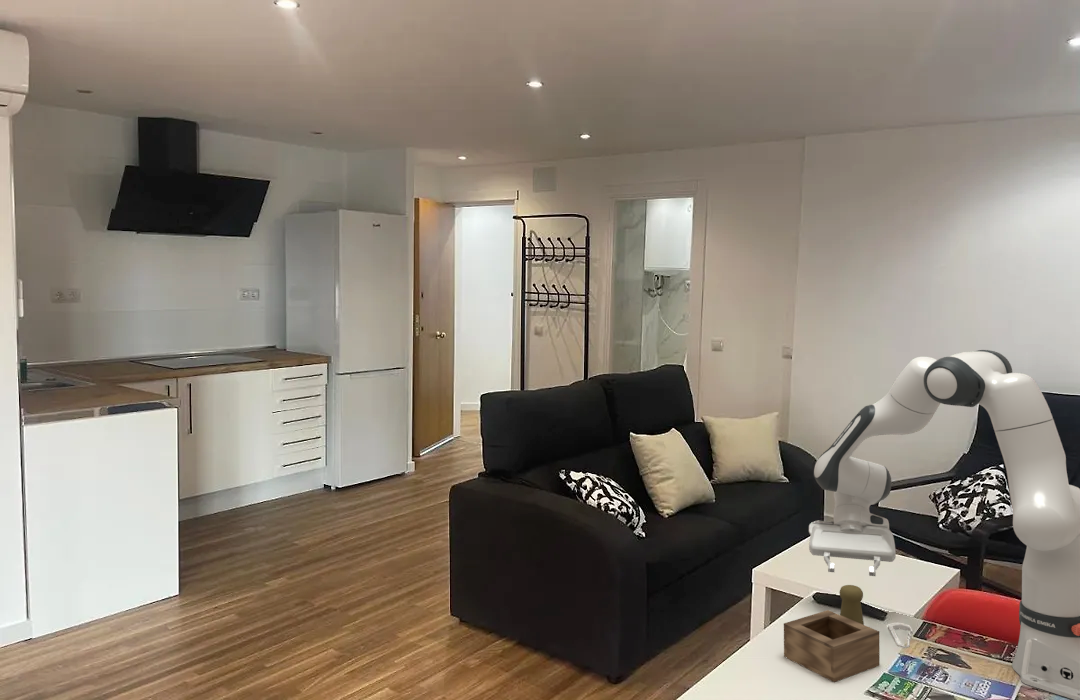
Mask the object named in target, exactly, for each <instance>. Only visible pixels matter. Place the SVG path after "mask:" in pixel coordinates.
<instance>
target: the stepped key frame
mask: <svg viewBox="0 0 1080 700" xmlns="http://www.w3.org/2000/svg"><path fill="white" fill-rule="evenodd" d="M887 624H888V627H887V630H888V632H889V633H890V634H889V635H891V637H892V639H893V641H894V643H895V644H896V646H897V647H899V648H902V649H907V648H910V645H911V644H910V642H911V639H912V636H913V635H914V630H913V629H912V627H911V625H910V624H906V623H902V622H898V621H896V622H892V623H887ZM899 628H900V630H903V629H904V631H907V630H908V632H907V636H906V645H903V644H902V643H901V640H900V639H899V637H898V635H897V633H896V631H895V630H899ZM894 629H895V630H894ZM909 631H910V632H909ZM912 634H913V635H912ZM910 638H911V639H910Z"/></svg>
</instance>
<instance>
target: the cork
mask: <svg viewBox="0 0 1080 700" xmlns="http://www.w3.org/2000/svg"><path fill="white" fill-rule="evenodd" d="M863 592H864V591H863V590H862V588H861V587H860V586H857V585H853V584H846V585H842V586H841V587H840V589H839V596H840V599H841V606H840V613H839V615H841V616H843V617H846V618H848V619H851V620H853V621H855V622H858V623H860V624H863V625H865V623H864V616H863V609H862V604H861V603H862V600H863V598H864V593H863Z"/></svg>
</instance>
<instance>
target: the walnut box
mask: <svg viewBox="0 0 1080 700" xmlns="http://www.w3.org/2000/svg"><path fill="white" fill-rule="evenodd" d="M783 657H784V658H786V657H787V658H786V659H788V660H789V661H792V662H794V663H796V664H798V665H800V666H802V667H803V668H805V669H808V670H809V671H811V672H813V673H815V674H818V675H819V676H821V677H823V678H825V679H827V680H829V681H831V682H832V683H835V682H839V681H841V680H844V679H847V678H849V677H852V676H855V675H857V674H860V673H863V672H865V671H866V672H867V671H868V670H872V669H874V668H877V667H879V666H880V663H881V661H880V631H879V630H878V629H874V628H872V627H870V626H867V625H865V624H864V625H863V624H860V623H858V622H855V621H853V620H851V619H848V618H846V617H843V616H841V615H840V613H839V614H838V613H836V612H834V611H831V610H829V609H827V610H824V611H821V612H817V613H814V614H810V615H807V616H804V617H801V618H797V619H794V620H791V621H787V622H784V623H783Z"/></svg>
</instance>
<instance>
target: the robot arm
mask: <svg viewBox="0 0 1080 700" xmlns="http://www.w3.org/2000/svg"><path fill="white" fill-rule="evenodd" d="M940 404H943V405H949V406H955V407H967V408H974V407H976V406H977V405H980V406H981V407H983V408H984V409H985V411H986V412H987V413H988V416H989V418H990V421H991V424H992V427H993V430H994V433H995V437H996V440H997V443H998V447H999V449H1000V453H1001V455H1002V459H1003V462H1004V466H1005V469H1006V475H1007V481H1008V488H1009V489H1008V490H1009V497H1010V502H1011V508H1012V528H1013V531H1014V534H1015V535H1016V537H1017V538H1018V539H1019V541H1020V542H1022V543H1023V544H1024V545H1025V546H1026V549H1025V554H1024V558H1023V561H1022V565H1021V600H1020V601H1019V609H1018V610H1019V611H1018V620H1019V625H1020V627H1019V628H1020V629H1019V637H1018V644H1017V648H1016V652H1015V656H1014V659H1013V660H1012V663H1011V664H1012V665H1011V666H1012V669H1013V670H1014V671H1015V672H1016V674H1018V675H1019V677H1020V681H1021V682H1022V683H1023V684H1025V685H1027V686H1031V687H1033V688H1037V689H1040V690H1043V691H1046V692H1050V693H1052V694H1056V695H1058V696H1060V697H1061V696H1062V697H1065V698H1068V699H1070V700H1080V488H1079V487H1078V486H1075V485H1072V484H1069V477H1068V473H1067V458H1066V457H1067V456H1066V452H1065V450H1064V447H1063V443H1062V441H1061V437H1060V435H1059V432H1058V429H1057V426H1056V423H1055V419H1054V418H1053V414H1052V413H1051V409H1050V406H1049V405H1048V402H1047V400H1046V399H1045V396H1044V394H1043V393H1042V391H1041V389H1040V387H1039V385H1038V383H1037V382H1036V380H1035V379H1034V378H1033V377H1032V376H1030V375H1029V374H1025V373H1022V372H1021V373H1020V372H1013V367H1012V365H1011V363H1010V361H1009V360H1008V359H1007V357H1006V356H1004V355H1003V354H1001V353H1000V352H997V351H995V350H989V349H979V350H973V351H962V352H957V353H955V354H951V355H949V356H944V357H941V358H938V359H936V358H934V357H932V356H917V357H915V358H913V359H911V360H910V361H909V362H908V363H907V364H906V366H905V367H904V368H903V369H902V370H901V372H900V373H899V374H898V375H897V376H896V379H895V380H894V382H893V384H892V385H891V386H890V388H889V390H888V392H887V393H886V394H885V395H883V396H882V398H880V399H879V400H877V402H875V403H872V404H869V405H865V406H863V407H862V408H861V409H860V410H859V411H858V413H857V414H855V416H854V417H853V418H852V420H850V422H849V423H848V424H847V425H846V427H845V428H844V429H843V430H842V432H841V433H840V434H839V436H838V437H837V438H836V439H835V441H834V442H833V443H832V444H831V445H830V447H828V448H827V449H826V450H825V451H824V452H823V453H821V455H819V457H818V458H817V460H816V462H815V464H814V468H813V478H814V479H815V481H816V483H817V484H818V485H819V488H820V487H821V489H822V490H824V491H829V492H833V500H834V503H835V504H834V506H833V519H832V520H833V521H830V520H815V521H812V522H811V523H809V525H808V534H809V535H810V537H809V544H808V545H809V546H808V549H809V552H810V553H811V555H813V556H820V557H823V561H824V562H825V564H826V566H827V571H828V573H835V563H834V562H831V561H830V559H831V558H842V559H854V560H864V561H865V560H866V561H873V566H871V565H870V566H869V567H868V575H869V577H876V576H877V575H876V573H877V572H876V571H877V570H878V569H879V567H880V565H881V562H888V563H892V562H894V561H895V560H896V557H897V554H896V543H895V538H894V534H893V532H892V531H891V530H890V523H889V522H890V521H889V520H888V519H887V518H885V517H883V516H880V515H876V514H874V513H871V512H870V506H871V505H876V504H878V503H879V502H881V501H884V500H885V499H887V497H889V496H890V493H891V491H892V490H891V489H892V477H891V474H890V471H889V470H888V468H887V467H886V466H885V465H883V464H880V463H877V462H873V461H870V460H864V459H861V458H858V457H853V456H852V455H853V454H854V453H855V451H856V450H857V449H858V448H859V446H860V445H862V443H863V442H864V441H865V440H867V439H869V438H872V437H877V436H884V435H885V436H886V435H887V436H891V435H898V436H899V435H901V436H903V435H911V434H915V433H917V432H919V431H921V430H923V429H924V428H925V427H926V426H928V424H929V422H930V421H931V420H932V418H933V417H934V416H935V414H936V412H937V410H938V409H939V406H940Z"/></svg>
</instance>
